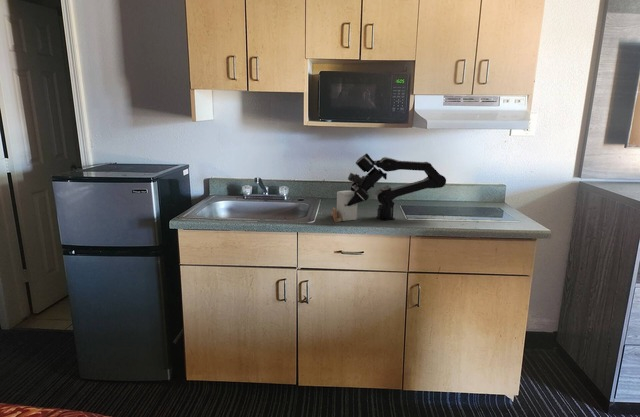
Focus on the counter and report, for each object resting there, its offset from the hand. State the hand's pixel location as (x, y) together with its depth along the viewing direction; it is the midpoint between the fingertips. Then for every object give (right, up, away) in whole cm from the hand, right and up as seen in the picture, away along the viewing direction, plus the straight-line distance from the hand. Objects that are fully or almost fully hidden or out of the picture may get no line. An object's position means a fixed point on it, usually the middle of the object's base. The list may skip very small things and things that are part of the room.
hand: (346, 203), depth 195 cm
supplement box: (0, -7, +2) cm, 8 cm away
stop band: (-4, -7, +1) cm, 8 cm away
